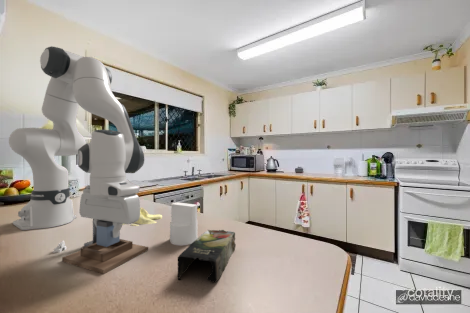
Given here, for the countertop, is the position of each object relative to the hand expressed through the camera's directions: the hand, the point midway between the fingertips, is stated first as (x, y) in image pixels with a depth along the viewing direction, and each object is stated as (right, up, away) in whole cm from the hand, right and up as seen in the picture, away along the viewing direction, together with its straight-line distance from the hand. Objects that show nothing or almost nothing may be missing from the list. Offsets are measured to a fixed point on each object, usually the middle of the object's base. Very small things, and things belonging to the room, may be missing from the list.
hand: (108, 235), depth 61 cm
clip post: (-8, -6, +8) cm, 12 cm away
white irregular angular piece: (-17, -6, +3) cm, 19 cm away
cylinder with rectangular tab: (+19, -6, +12) cm, 23 cm away
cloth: (-5, -6, +33) cm, 34 cm away
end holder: (0, -6, 0) cm, 6 cm away
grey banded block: (0, -2, 0) cm, 2 cm away
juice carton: (+30, -6, -3) cm, 30 cm away
